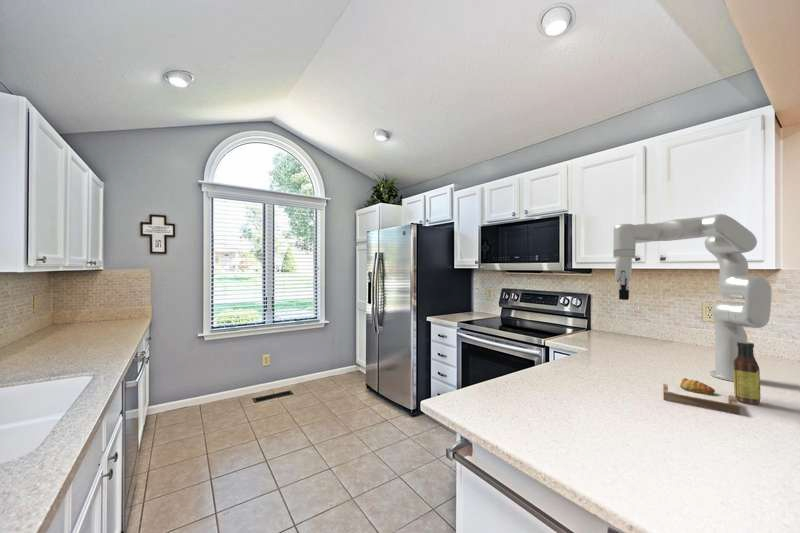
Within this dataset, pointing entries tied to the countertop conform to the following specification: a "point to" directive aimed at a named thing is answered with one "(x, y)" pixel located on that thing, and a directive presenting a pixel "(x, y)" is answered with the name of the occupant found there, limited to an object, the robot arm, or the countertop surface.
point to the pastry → (696, 386)
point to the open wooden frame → (703, 402)
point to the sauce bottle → (746, 375)
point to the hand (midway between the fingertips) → (623, 299)
